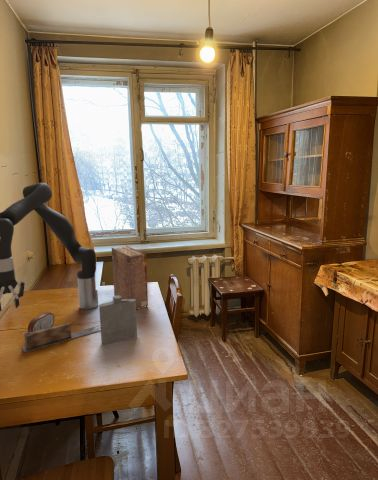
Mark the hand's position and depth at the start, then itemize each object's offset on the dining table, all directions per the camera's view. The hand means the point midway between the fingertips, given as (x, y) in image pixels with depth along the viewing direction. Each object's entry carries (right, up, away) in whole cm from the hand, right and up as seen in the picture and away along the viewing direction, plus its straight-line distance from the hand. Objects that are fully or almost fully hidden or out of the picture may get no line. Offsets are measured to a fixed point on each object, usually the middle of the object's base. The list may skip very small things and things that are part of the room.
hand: (8, 308), depth 143 cm
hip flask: (+42, -17, +15) cm, 47 cm away
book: (+40, -8, +58) cm, 71 cm away
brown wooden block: (+12, -17, +12) cm, 24 cm away
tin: (+5, -15, +23) cm, 28 cm away
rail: (+18, -16, +16) cm, 29 cm away
